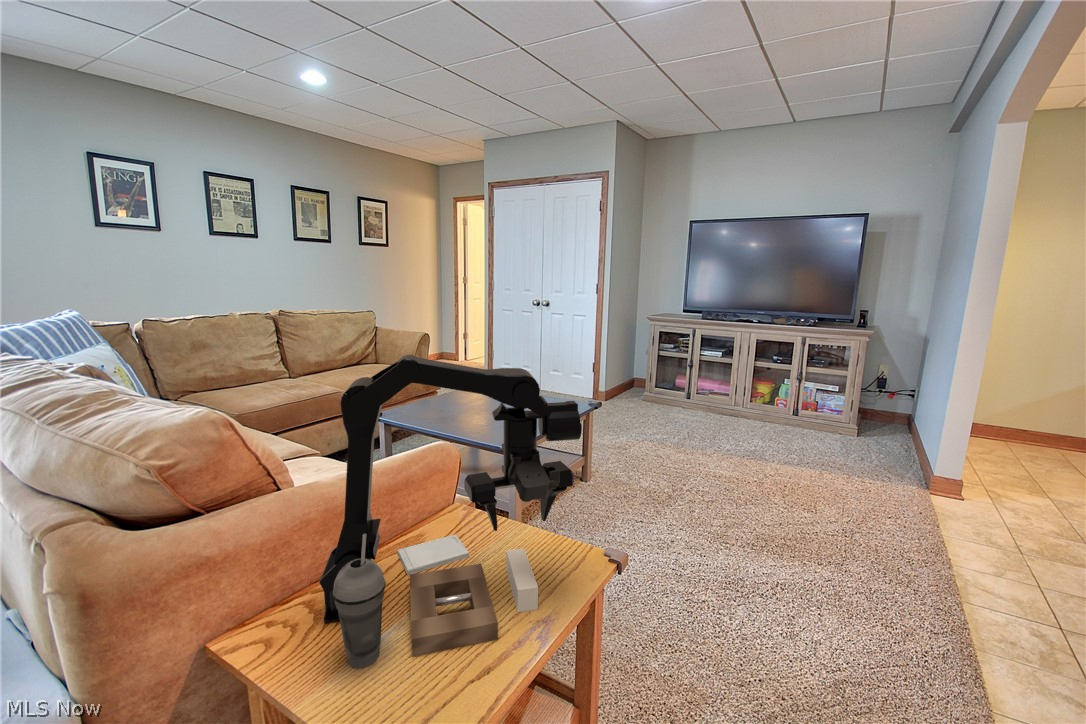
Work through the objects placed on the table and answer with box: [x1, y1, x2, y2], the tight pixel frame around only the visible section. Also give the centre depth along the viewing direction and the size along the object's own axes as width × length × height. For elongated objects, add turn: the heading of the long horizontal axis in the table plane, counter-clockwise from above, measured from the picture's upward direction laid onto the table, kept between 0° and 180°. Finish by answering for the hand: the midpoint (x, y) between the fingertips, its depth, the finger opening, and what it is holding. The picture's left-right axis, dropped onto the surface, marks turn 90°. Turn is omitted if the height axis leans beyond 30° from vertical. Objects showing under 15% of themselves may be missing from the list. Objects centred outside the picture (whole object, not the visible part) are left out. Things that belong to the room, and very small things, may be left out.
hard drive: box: [396, 534, 470, 576], centre depth 98 cm, size 2×8×12 cm
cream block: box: [505, 547, 539, 613], centre depth 87 cm, size 4×12×4 cm, turn 14°
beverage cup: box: [332, 534, 387, 670], centre depth 70 cm, size 7×7×20 cm
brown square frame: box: [408, 563, 499, 658], centre depth 81 cm, size 13×16×3 cm
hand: (519, 525), depth 86 cm, fingers open, 9 cm apart
